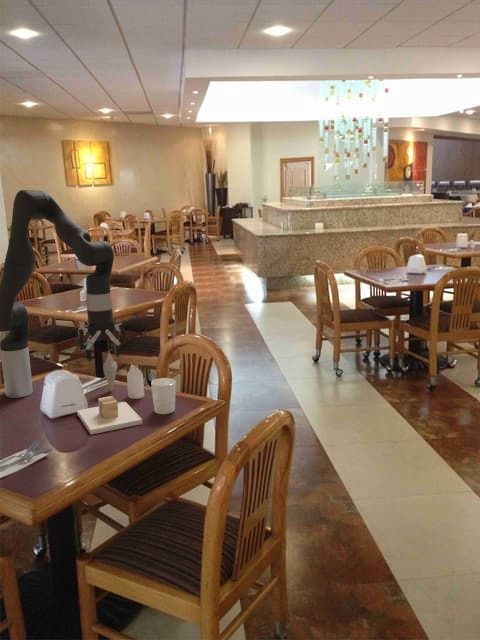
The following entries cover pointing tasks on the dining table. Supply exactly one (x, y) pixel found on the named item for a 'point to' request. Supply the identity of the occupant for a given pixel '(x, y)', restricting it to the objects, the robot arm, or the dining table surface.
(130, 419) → the platter
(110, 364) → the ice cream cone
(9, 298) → the robot arm
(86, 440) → the dining table surface
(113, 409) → the oak block
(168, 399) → the white cup
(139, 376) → the white pointed crystal
